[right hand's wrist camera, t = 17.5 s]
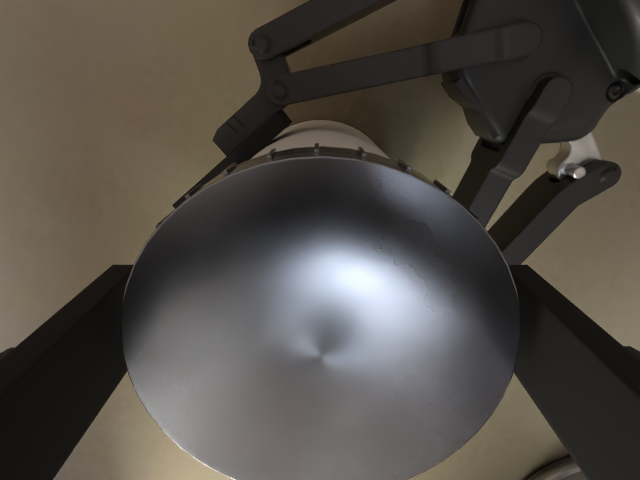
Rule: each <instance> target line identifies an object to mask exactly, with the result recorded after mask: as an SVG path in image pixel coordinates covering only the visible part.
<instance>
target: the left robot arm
mask: <svg viewBox="0 0 640 480" xmlns="http://www.w3.org/2000/svg"><path fill="white" fill-rule="evenodd" d="M394 1H396V0H310V1H308V2H306V3H304V4H302V5H301V6H299V7H297V8H295V9H293V10H291V11H289V12H287V13H286V14H284V15H282V16H280V17H278V18H276V19H274V20H272V21H270V22H269V23H267V24H265V25H263V26H261V27H259V28H257V29H256V30H254V31H253V32H252V33H251V35H250V37H249V42H248V46H249V49H250V52H251V53H252V54H253V56H254V59H255V62H256V64H257V67H258V70H259V72H260V76H261V85H260V88H259V90H258V92H257V93H256V94H255V95H254V96H253V97H252V98H251V99H250V100H249V101H248V102H247V103H246V104H245V105H244V106H243V107H241V108H240V109H239V110H238V111H237V112H236V113H235V114H234V115H233V116H232V117H231V118H229V119H228V120H227V121H226V122H225V123H224V124H223V125H222V126H221V127H220V128H219V129H218V130H217V132H216V134H215V136H214V138H213V141H214V142H215V144H216V145H217V146H218V147H219V148H220V149H221V150H222V151H223V152H224V154H225V155H226V156H227V157H226V158H225V159H224V160H223V161H221V162H220V163H219V164H218V165H217V166H216V167H215V168H214V169H212V170H211V171H210V172H209V173H208V174H207V175H206V176H205V177H203V178H202V179H201V180H200V181H199V182H198V183H197V184H196V185H195V186H193V187H192V188H191V189H190V190H189V191H188V192H187V193H186V194H184V195H183V196H182V197H181V198H180V199H179V200H178V201H177V202H175V203H174V204H173V205H172V206H173V207H174V208H175V209H176V208H177V207H178V206H179V205H180V204H182V203H183V202H184V201H185V200H186V198H185V195H187V194H188V193H189V192H191V191H192V190H193V189H194V188H196V187H197V186H198V185H199V184H201V185H202V186H204V185H205V184H206V183H208V182H209V181H211V180H212V179H214V178H215V177H217V176H218V175H219V174H221V173H222V172H223V171H224V170H225V169H226V168H227V167H229V166H230V165H231V164H232V163H236V164H237V165H238V164H240V163H242V162H244V161H247V160H250V159H251V158H252V157H253V156H255V155H256V154H257V153H258V152H259V151H260V150H261V149H263V148H264V147H265V146H266V145H267V144H268V143H269V142H271V141H272V140H273V139H274V138H275V137H276V136H277V135H279V134H280V133H281V132H282V131H283V130H284V129H285V128H287V127H288V126H289V125H290V123H291V122H292V121H291V120H290V118H289V117H288V116H287V115H286V113H285V112H284V111H283V109H284V108H285V107H286V106H287V105H289V104H294V103H298V102H303V101H308V100H313V99H318V98H322V97H327V96H332V95H337V94H342V93H346V92H351V91H356V90H361V89H366V88H370V87H375V86H380V85H385V84H390V83H394V82H399V81H404V80H409V79H414V78H419V77H423V76H428V75H434V74H439V73H442V76H443V80H444V82H443V83H441V84H442V86H443V87H444V89H445V90H446V92H447V93H448V95H449V96H450V97H451V98H452V99H453V100H454V101H456V102H457V103H458V104H459V105H460V106H462V108H463V111H464V114H465V117H466V120H467V123H468V125H469V126H470V128H471V129H472V131H473V132H474V134H475V135H476V136H479V137H480V138H479V140H478V142H477V144H476V146H475V147H474V149H473V152H472V155H471V163H470V165H469V167H468V169H467V170H466V172H465V174H464V176H463V178H462V180H461V182H460V184H459V185H458V187H457V189H456V191H455V193H454V195H453V198H454V199H455V200H456V201H458V202H459V203H460V204H461V205H462V206H465V207H466V208H467V209H469V210H470V211H471V212H472V213H473V214H475V215H476V216H477V217H478V218H480V220H481V222H480V223H481V224H482V225H483V227H484V228H485V227H486V225H487V224H488V222H489V220H490V218H491V217H492V215H493V213H494V212H495V210H496V208H497V206H498V205H499V203H500V201H501V199H502V198H503V196H504V194H505V193H506V191H507V189H508V187H509V186H510V184H511V182H512V181H513V180H514V179H516V178H518V177H520V176H521V175H522V174H523V172H524V171H525V169H526V167H527V166H528V164H529V162H530V161H531V159H532V157H533V155H534V154H535V152H536V150H537V149H538V147H539V145H540V144H542V143H558V142H560V150H559V152H558V154H557V155H556V156H555V157H554V158H553V159H550V160H549V161H548V162H547V165H546V166H547V168H548V171H547V172H545V173H544V174H542V175H541V176H540V177H539V178H537V179H536V180H535V181H534V182H533V183H532V184H531V185H530V186H529V187H528V188H527V189H526V190H525V191H524V192H523V193H522V194H521V195H520V196H519V198H518V199H517V200H516V201H515V202H514V203H513V204H512V205H511V206H510V207H509V208H508V210H507V211H506V212H505V213H504V214H503V215H502V216H501V217H500V218H499V219H498V220H497V222H496V223H495V224H494V225H493V226H492V227H491V228H490V229H489V230H488V231H487V232H488V233H489V235H490V236H491V237H492V239H493V240H494V241H495V243H496V244H497V246H498V248H499V249H500V251H501V252H502V254H503V257H504V259H505V261H506V262H507V264H508V265H520V264H521V263H522V262H523V261H524V260H525V259H526V258H527V257H528V256H529V255H530V254H531V253H532V252H533V251H534V250H535V249H536V248H537V247H538V246H539V245H540V244H541V243H542V242H543V241H544V240H545V239H546V238H547V237H548V236H549V235H550V234H551V233H552V232H553V231H554V230H555V229H556V228H557V227H558V226H559V225H560V223H561V222H562V221H563V220H564V219H565V218H566V217H567V216H568V215H569V214H570V213H571V212H572V211H573V210H574V209H575V208H576V207H577V206H578V205H580V204H582V203H584V202H585V201H587V200H589V199H591V198H592V197H594V196H596V195H598V194H599V193H601V192H603V191H605V190H606V189H608V188H610V187H612V186H613V185H614V184H616V183H617V181H618V180H619V178H620V176H621V168H620V167H619V166H618V164H616V163H613V162H609V161H605V160H603V158H602V156H601V154H600V151H599V149H598V147H597V144H596V142H595V140H594V137H593V135H592V133H591V131H592V130H593V129H594V128H595V126H596V125H597V123H598V122H599V120H600V118H601V117H602V115H603V114H604V113H605V111H606V110H607V109H608V108H609V107H610V106H611V105H612V104H613V103H615V102H616V101H618V100H619V99H621V98H623V97H624V96H626V95H628V94H630V93H631V92H633V91H635V90H636V89H638V88H639V87H640V0H464V1H463V4H462V7H461V10H460V12H459V15H458V18H457V21H456V24H455V27H454V30H453V33H452V36H451V38H450V39H445V40H441V41H436V42H432V43H428V44H424V45H420V46H416V47H411V48H406V49H402V50H397V51H392V52H387V53H383V54H378V55H373V56H369V57H364V58H359V59H355V60H350V61H345V62H341V63H336V64H331V65H327V66H322V67H317V68H312V69H308V70H303V71H298V72H294V73H291V71H290V68H289V66H288V63H287V60H286V57H287V56H289V55H291V54H293V53H295V52H297V51H299V50H301V49H303V48H304V47H306V46H308V45H310V44H312V43H314V42H316V41H318V40H320V39H322V38H324V37H326V36H328V35H330V34H332V33H334V32H336V31H338V30H340V29H341V28H343V27H345V26H347V25H349V24H351V23H353V22H355V21H357V20H359V19H361V18H363V17H365V16H367V15H369V14H371V13H373V12H375V11H376V10H378V9H380V8H382V7H384V6H386V5H388V4H390V3H392V2H394ZM527 480H587V479H586V477H585V476H584V474H583V473H582V471H581V470H580V468H579V467H578V466H577V464H576V463H575V461H574V460H573V458H572V457H571V456H570V457H567V458H564V459H561V460H559V461H557V462H554V463H552V464H550V465H548V466H546V467H544V468H543V469H541V470H539V471H538V472H536V473H535V474H533V475H532V476H531V477H529V478H528V479H527Z"/></svg>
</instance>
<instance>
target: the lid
mask: <svg viewBox="0 0 640 480" xmlns="http://www.w3.org/2000/svg"><path fill="white" fill-rule="evenodd" d="M450 192H451V191H450V190H448V189H447V188H446V187H445V186H443V185H442V184H441V183H440V182H438V181H437V180H434V182H432V181H431V180H429V179H428V178H426V177H425V176H424V175H422V174H421V173H419V172H417V171H415V170H413V169H412V168H411V167H410V166H409V165H407V164H406V163H405V162H404V161H403V160H400V159H399V161H398V162H397V161H394V160H391V159H388V158H386V157H383V156H380V155H377V154H374V153H369V152H365V151H364V149H363V148H362V147H358V150H355V149H350V148H339V147H326V146H319V143H315V145H314V147H301V148H292V149H287V150H282V151H277V152H276V148H274V149H271V151H270V152H269V153H268V154H265V155H262V156H259V157H256V158H253V159H250V160H247V161H244V162H242V163H240V164H238V165H237V164H236V163H232V164H231V165H230V166H229V167H227V168H226V169H225V170H224V171H223V172H222V173H221V174H219V175H218V176H217V177H215V178H214V179H212V180H211V181H209V182H208V183H206V184H205V185H204V186H202V185H201V184H199V185H198V186H197V187H196V188H194V189H193V190H192V191H191V192H189V193H188V194H187V195H185V198H186V200H185V201H184V202H183V203H182V204H180V205H179V206H178V207H177V208H176V209H175V210H174V211H173V212H171V213H170V214H169V215H168V216H167V217H165V218H164V219H163V220H162V221H161V222H159V223H158V224H157V225H156V228H157V229H156V230H155V232H154V233H153V234H152V235H151V237H150V238H149V239H148V240H147V242H146V243H145V245H144V247H143V249H142V251H141V252H140V254H139V256H138V258H137V259H136V261H135V263H134V265H133V268H132V271H131V274H130V276H129V279H128V282H127V284H126V288H125V293H124V298H123V303H122V308H121V330H120V333H121V341H122V350H123V356H124V360H125V363H126V367H127V371H128V374H129V377H130V379H131V382H132V384H133V386H134V388H135V391H136V393H137V395H138V397H139V399H140V400H141V402H142V403H143V405H144V407H145V408H146V410H147V412H148V413H149V415H150V416H151V417H152V418H153V420H154V421H155V422H156V423H157V424H158V426H159V427H160V428H161V429H162V431H163V432H164V433H165V434H166V435H168V436H169V437H170V438H171V439H172V440H173V441H174V442H175V443H176V444H177V445H178V446H179V447H180V448H182V449H183V450H184V451H186V452H187V453H188V454H190V455H191V456H192V457H194V458H195V459H196V460H198V461H200V462H201V463H203V464H205V465H206V466H208V467H210V468H211V469H213V470H215V471H217V472H219V473H221V474H223V475H225V476H228V477H230V478H232V479H234V480H407V479H409V478H411V477H414V476H416V475H418V474H420V473H422V472H425V471H426V470H428V469H430V468H432V467H433V466H435V465H437V464H438V463H440V462H442V461H443V460H445V459H446V458H448V457H449V456H450V455H452V454H453V453H454V452H456V451H457V450H458V449H460V448H461V447H462V446H463V445H464V444H465V443H466V442H468V441H469V440H470V439H471V438H472V437H473V436H474V435H475V434H476V433H477V432H478V431H479V430H480V428H481V427H482V426H483V425H484V424H485V422H486V421H487V420H488V419H489V418H490V416H491V415H492V413H493V412H494V410H495V409H496V407H497V406H498V404H499V402H500V401H501V399H502V398H503V396H504V393H505V391H506V389H507V387H508V385H509V383H510V380H511V378H512V375H513V372H514V368H515V365H516V362H517V358H518V352H519V345H520V338H521V313H520V306H519V301H518V295H517V289H516V286H515V283H514V281H513V278H512V275H511V272H510V269H509V266H508V264H507V262H506V261H505V259H504V257H503V254H502V252H501V251H500V249H499V248H498V246H497V244H496V243H495V241H494V240H493V239H492V237H491V236H490V235H489V233H488V232H487V231H486V229H485V228H484V227H483V225H482V224H481V223H480V222H481V220H480V218H478V217H477V216H476V215H475V214H473V213H472V212H471V211H470V210H469V209H467V208H466V207H465V206H462V205H461V204H460V203H459V202H458V201H456V200H455V199H454V198H453V197H452V196H450V195H449V193H450Z"/></svg>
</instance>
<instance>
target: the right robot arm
mask: <svg viewBox="0 0 640 480" xmlns="http://www.w3.org/2000/svg"><path fill="white" fill-rule="evenodd" d="M508 266H509V269H510V272H511V275H512V278H513V281H514V283H515V286H516V289H517V295H518V301H519V306H520V313H521V338H520V345H519V352H518V358H517V362H516V365H515V368H514V373H515V375H516V376H517V378H518V379H519V381H520V382H521V384H522V385H523V387H524V388H525V390H526V391H527V392H528V394H529V395H530V397H531V398H532V400H533V401H534V403H535V404H536V406H537V407H538V409H539V410H540V411H541V413H542V414H543V416H544V417H545V419H546V420H547V422H548V423H549V425H550V426H551V428H552V429H553V430H554V432H555V433H556V435H557V436H558V438H559V439H560V441H561V442H562V444H563V445H564V447H565V448H566V449H567V451H568V452H569V454H570V455H571V457H572V458H573V460H574V461H575V463H576V464H577V466H578V467H579V468H580V470H581V471H582V473H583V474H584V476H585V477H586V479H587V480H640V351H638V350H636V349H634V348H632V347H630V346H622V345H621V344H620V343H619V342H617V341H616V340H615V339H614V338H613V337H612V336H610V335H609V334H608V333H607V332H606V331H605V330H603V329H602V328H601V327H600V326H599V325H597V324H596V323H595V322H594V321H593V320H592V319H590V318H589V317H588V316H587V315H586V314H584V313H583V312H582V311H581V310H580V309H579V308H577V307H576V306H575V305H574V304H573V303H571V302H570V301H569V300H568V299H567V298H566V297H564V296H563V295H562V294H561V293H560V292H559V291H557V290H556V289H555V288H554V287H553V286H551V285H550V284H549V283H548V282H547V281H546V280H544V279H543V278H542V277H541V276H540V275H538V274H537V273H536V272H535V271H534V270H533V269H531V268H530V267H529V266H528V265H508ZM132 268H133V265H112V266H111V267H110V268H109V269H107V270H106V271H105V272H104V273H103V274H102V275H100V276H99V277H98V278H97V279H96V280H94V281H93V282H92V283H91V284H90V285H89V286H87V287H86V288H85V289H84V290H83V291H81V292H80V293H79V294H78V295H77V296H76V297H74V298H73V299H72V300H71V301H70V302H69V303H67V304H66V305H65V306H64V307H63V308H61V309H60V310H59V311H58V312H57V313H56V314H54V315H53V316H52V317H51V318H50V319H48V320H47V321H46V322H45V323H44V324H43V325H41V326H40V327H39V328H38V329H37V330H35V331H34V332H33V333H32V334H31V335H30V336H28V337H27V338H26V339H25V340H24V341H23V342H21V343H20V344H19V345H18V346H17V347H15V348H9V349H7V350H5V351H3V352H2V353H0V480H53V479H54V477H55V476H56V474H57V473H58V471H59V470H60V468H61V467H62V466H63V464H64V463H65V461H66V460H67V458H68V457H69V455H70V454H71V452H72V451H73V449H74V448H75V447H76V445H77V444H78V442H79V441H80V439H81V438H82V436H83V435H84V433H85V432H86V430H87V429H88V428H89V426H90V425H91V423H92V422H93V420H94V419H95V417H96V416H97V414H98V413H99V411H100V410H101V409H102V407H103V406H104V404H105V403H106V401H107V400H108V398H109V397H110V395H111V394H112V392H113V391H114V390H115V388H116V387H117V385H118V384H119V382H120V381H121V379H122V378H123V376H124V375H125V373H126V372H127V367H126V363H125V360H124V356H123V350H122V341H121V333H120V330H121V308H122V303H123V298H124V293H125V288H126V284H127V282H128V279H129V276H130V274H131V271H132Z"/></svg>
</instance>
